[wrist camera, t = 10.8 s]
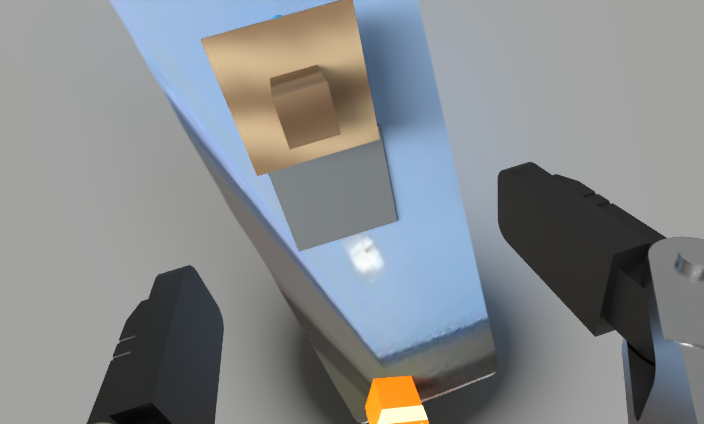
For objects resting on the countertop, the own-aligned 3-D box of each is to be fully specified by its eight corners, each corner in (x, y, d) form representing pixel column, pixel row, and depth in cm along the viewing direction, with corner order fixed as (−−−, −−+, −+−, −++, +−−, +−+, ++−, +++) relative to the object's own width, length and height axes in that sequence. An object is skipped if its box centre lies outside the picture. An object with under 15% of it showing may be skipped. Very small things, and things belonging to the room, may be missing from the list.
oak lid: (202, 38, 29) (188, 53, 24) (350, -3, 30) (371, 2, 24) (257, 172, 36) (257, 208, 30) (377, 136, 37) (399, 165, 31)
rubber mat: (263, 158, 44) (263, 159, 44) (378, 124, 45) (379, 125, 44) (298, 249, 52) (298, 251, 51) (396, 219, 52) (397, 221, 52)
